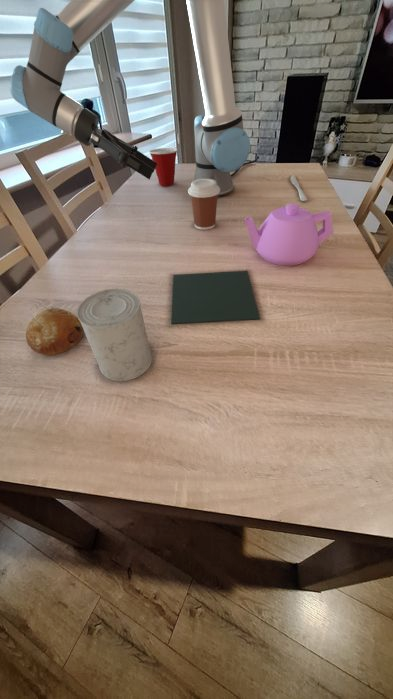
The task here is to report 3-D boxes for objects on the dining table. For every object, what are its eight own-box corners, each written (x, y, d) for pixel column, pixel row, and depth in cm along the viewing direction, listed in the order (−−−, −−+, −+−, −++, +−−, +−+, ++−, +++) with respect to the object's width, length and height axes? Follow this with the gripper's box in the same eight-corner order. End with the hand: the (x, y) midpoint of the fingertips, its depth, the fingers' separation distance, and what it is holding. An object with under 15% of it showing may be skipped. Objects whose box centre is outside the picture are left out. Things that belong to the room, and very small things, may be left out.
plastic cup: (182, 179, 124) (179, 144, 116) (178, 188, 117) (175, 152, 108) (156, 179, 125) (151, 145, 117) (150, 188, 118) (145, 153, 109)
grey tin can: (160, 347, 57) (150, 293, 48) (137, 386, 50) (121, 333, 42) (116, 337, 59) (98, 284, 50) (88, 374, 53) (63, 320, 44)
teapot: (317, 237, 84) (329, 190, 75) (336, 266, 73) (352, 216, 65) (238, 241, 84) (241, 195, 76) (245, 271, 74) (249, 221, 65)
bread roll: (56, 335, 66) (25, 310, 60) (92, 315, 63) (63, 288, 58) (43, 369, 59) (7, 345, 54) (84, 349, 56) (50, 321, 51)
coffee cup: (185, 222, 95) (182, 180, 86) (212, 216, 97) (212, 175, 88) (196, 234, 89) (194, 190, 80) (224, 227, 91) (225, 184, 82)
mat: (173, 275, 74) (173, 274, 73) (247, 271, 73) (247, 270, 73) (171, 324, 61) (171, 323, 61) (260, 319, 61) (260, 318, 61)
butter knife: (299, 200, 101) (308, 199, 101) (288, 175, 120) (296, 174, 120) (298, 202, 102) (308, 201, 101) (288, 177, 121) (296, 176, 120)
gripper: (86, 136, 89) (151, 177, 96) (59, 140, 69) (143, 192, 76) (94, 108, 85) (162, 153, 93) (68, 104, 66) (156, 162, 73)
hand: (153, 171), depth 85 cm, fingers open, 13 cm apart
